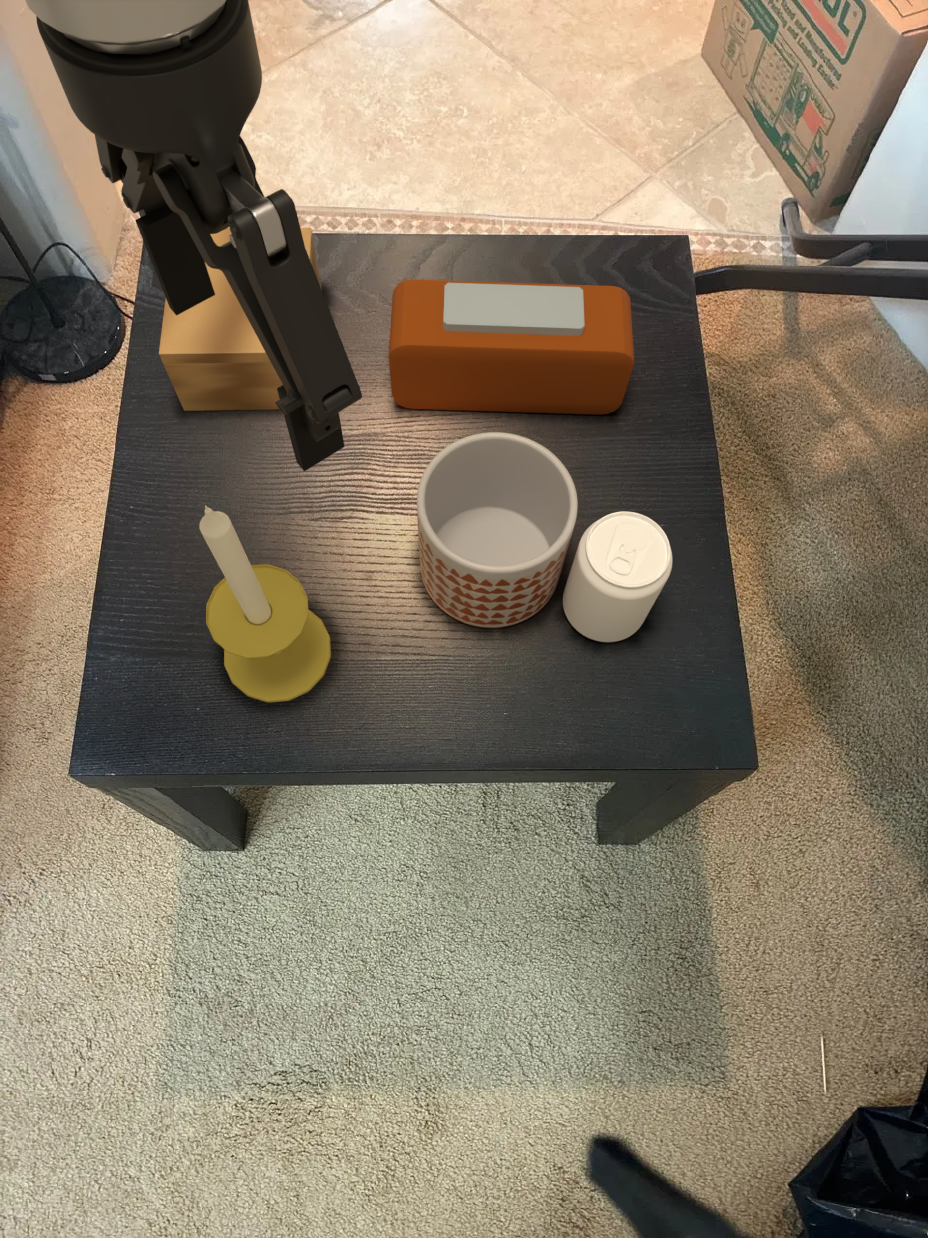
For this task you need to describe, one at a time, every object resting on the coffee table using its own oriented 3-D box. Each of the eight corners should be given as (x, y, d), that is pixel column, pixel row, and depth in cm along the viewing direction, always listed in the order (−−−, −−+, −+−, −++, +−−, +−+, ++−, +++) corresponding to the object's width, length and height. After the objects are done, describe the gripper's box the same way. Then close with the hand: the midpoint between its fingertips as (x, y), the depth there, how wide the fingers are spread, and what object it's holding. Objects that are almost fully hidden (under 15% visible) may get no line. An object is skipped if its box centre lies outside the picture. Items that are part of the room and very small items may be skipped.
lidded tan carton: (184, 410, 91) (158, 353, 83) (196, 292, 97) (173, 227, 89) (318, 409, 92) (305, 351, 84) (322, 291, 98) (311, 227, 90)
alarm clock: (615, 353, 96) (636, 275, 85) (618, 416, 92) (641, 344, 82) (396, 346, 95) (391, 267, 85) (392, 409, 92) (386, 335, 82)
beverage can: (657, 587, 85) (689, 528, 74) (627, 658, 82) (657, 607, 71) (580, 555, 86) (601, 492, 75) (548, 624, 83) (565, 568, 72)
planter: (494, 658, 81) (503, 603, 70) (390, 567, 85) (382, 500, 73) (588, 563, 86) (611, 496, 74) (485, 480, 89) (491, 403, 77)
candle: (262, 585, 84) (186, 417, 59) (351, 632, 82) (312, 479, 57) (202, 671, 80) (94, 531, 55) (294, 722, 79) (226, 601, 54)
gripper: (434, 147, 28) (436, 489, 48) (64, -206, 35) (197, 217, 55) (237, 251, 26) (322, 563, 46) (-113, -145, 34) (90, 271, 53)
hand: (254, 375), depth 51 cm, fingers open, 13 cm apart
